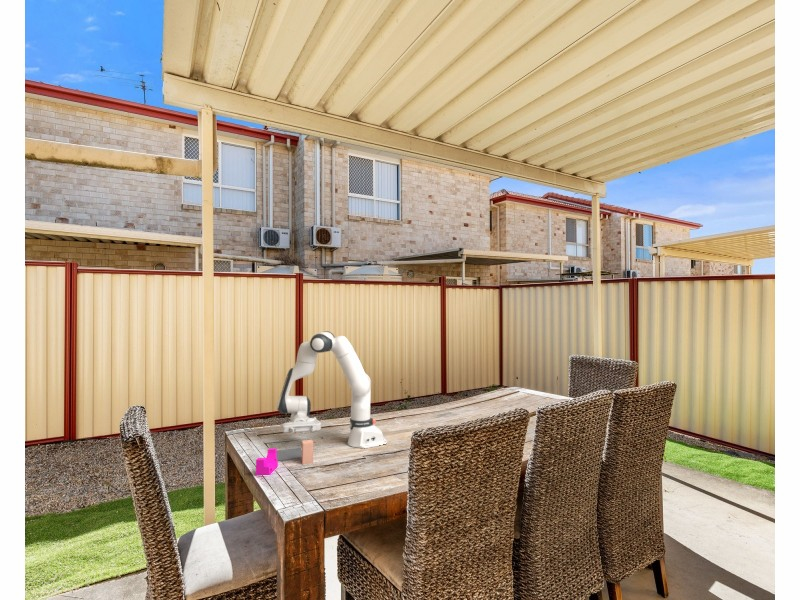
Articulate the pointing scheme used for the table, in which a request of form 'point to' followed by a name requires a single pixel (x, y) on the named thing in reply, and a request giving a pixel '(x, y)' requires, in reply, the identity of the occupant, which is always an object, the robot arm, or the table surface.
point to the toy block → (267, 463)
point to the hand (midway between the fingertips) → (303, 431)
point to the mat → (289, 454)
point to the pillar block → (307, 452)
